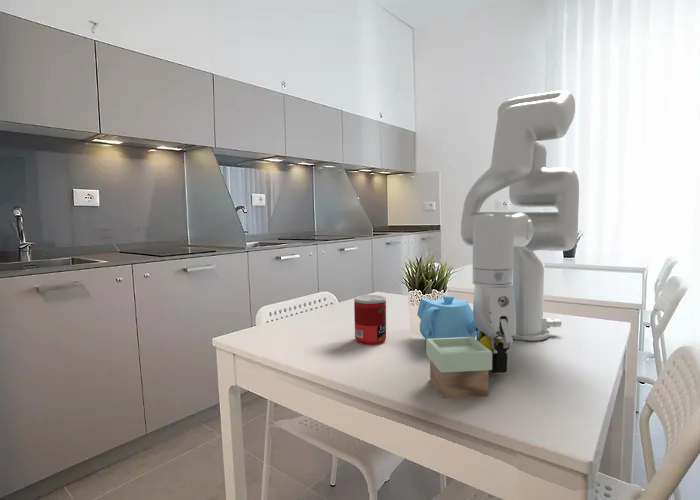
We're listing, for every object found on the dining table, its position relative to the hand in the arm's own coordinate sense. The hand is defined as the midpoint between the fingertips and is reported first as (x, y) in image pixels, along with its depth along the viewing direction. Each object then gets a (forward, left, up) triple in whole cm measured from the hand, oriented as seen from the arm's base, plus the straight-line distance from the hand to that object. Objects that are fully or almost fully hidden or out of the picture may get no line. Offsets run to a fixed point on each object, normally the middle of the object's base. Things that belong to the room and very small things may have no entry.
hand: (491, 365), depth 82 cm
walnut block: (+9, +6, -2) cm, 11 cm away
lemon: (0, 0, -1) cm, 1 cm away
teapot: (+2, -19, -2) cm, 19 cm away
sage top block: (+9, +6, +3) cm, 12 cm away
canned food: (+21, -24, -2) cm, 32 cm away
